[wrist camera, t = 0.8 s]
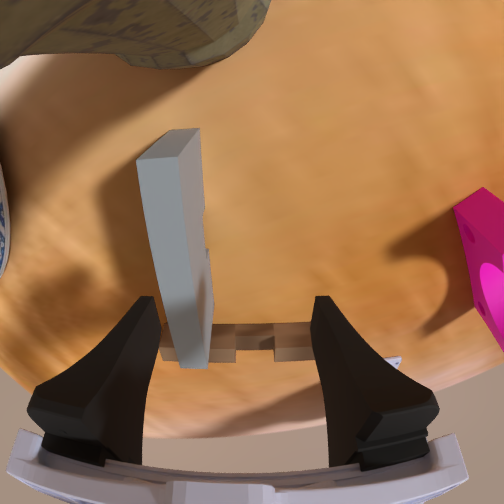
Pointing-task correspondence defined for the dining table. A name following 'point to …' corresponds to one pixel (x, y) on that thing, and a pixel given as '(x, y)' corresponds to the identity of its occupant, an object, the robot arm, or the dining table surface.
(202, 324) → the slate plate
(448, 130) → the dining table surface
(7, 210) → the ceramic plate
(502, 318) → the toy block
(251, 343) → the walnut rail
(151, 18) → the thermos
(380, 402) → the robot arm
